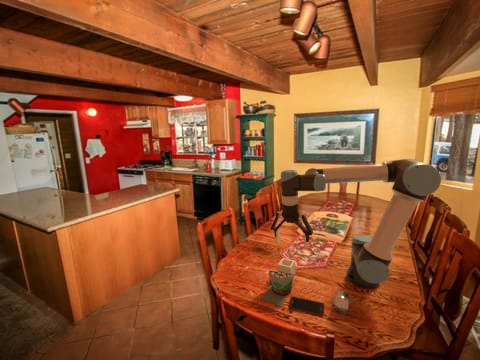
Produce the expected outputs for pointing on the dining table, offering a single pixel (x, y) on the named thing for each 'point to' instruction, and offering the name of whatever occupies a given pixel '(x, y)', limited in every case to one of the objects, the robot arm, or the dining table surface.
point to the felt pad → (274, 297)
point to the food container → (281, 282)
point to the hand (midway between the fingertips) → (291, 245)
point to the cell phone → (307, 306)
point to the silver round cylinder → (341, 302)
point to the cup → (286, 266)
